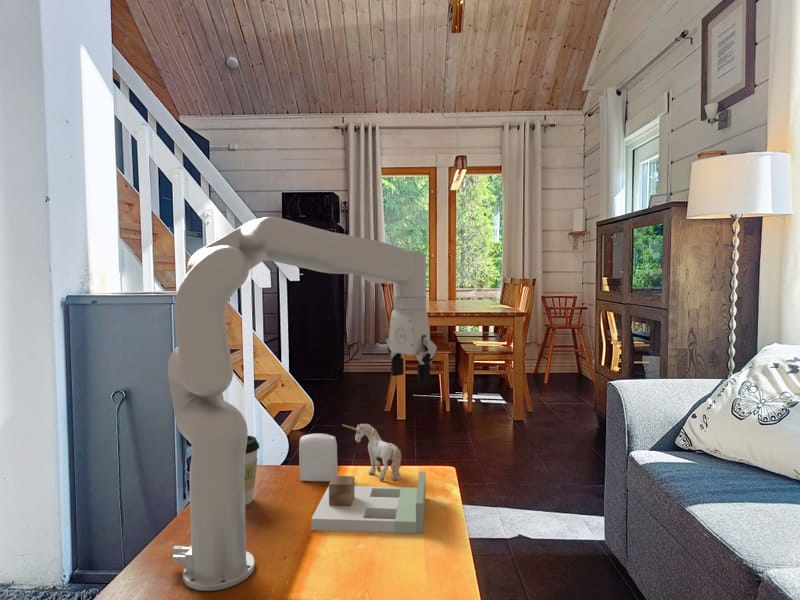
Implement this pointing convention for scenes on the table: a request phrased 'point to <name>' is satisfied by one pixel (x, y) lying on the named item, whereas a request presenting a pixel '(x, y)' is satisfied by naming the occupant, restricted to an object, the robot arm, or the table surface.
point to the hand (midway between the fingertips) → (410, 378)
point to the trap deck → (375, 510)
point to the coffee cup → (250, 467)
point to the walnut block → (341, 491)
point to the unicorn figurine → (379, 451)
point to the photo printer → (318, 457)
